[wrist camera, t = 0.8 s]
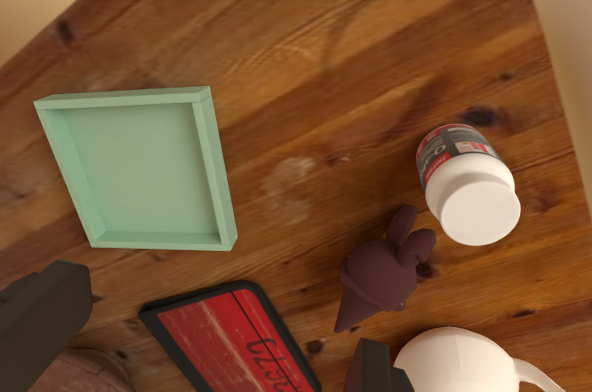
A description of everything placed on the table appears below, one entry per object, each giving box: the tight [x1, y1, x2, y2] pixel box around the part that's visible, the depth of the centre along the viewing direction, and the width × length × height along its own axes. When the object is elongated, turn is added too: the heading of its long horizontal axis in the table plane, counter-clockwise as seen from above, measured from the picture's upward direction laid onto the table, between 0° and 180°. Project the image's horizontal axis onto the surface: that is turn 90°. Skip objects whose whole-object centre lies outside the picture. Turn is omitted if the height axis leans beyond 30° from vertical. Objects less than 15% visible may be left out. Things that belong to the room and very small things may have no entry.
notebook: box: [138, 281, 322, 392], centre depth 48 cm, size 16×2×21 cm
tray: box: [33, 86, 238, 251], centre depth 37 cm, size 16×16×3 cm
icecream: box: [334, 205, 436, 333], centre depth 35 cm, size 7×7×15 cm
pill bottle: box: [416, 124, 520, 246], centre depth 28 cm, size 6×6×10 cm
